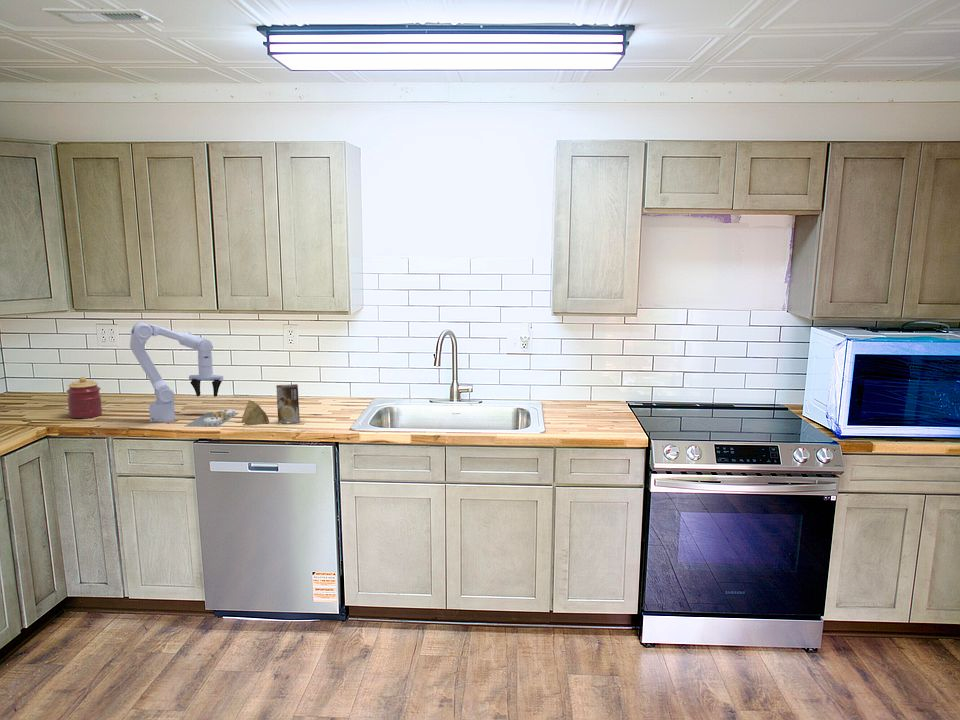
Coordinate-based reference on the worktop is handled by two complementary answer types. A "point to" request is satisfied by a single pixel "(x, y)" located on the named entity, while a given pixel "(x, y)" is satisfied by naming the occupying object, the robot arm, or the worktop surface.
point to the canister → (84, 399)
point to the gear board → (201, 421)
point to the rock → (254, 414)
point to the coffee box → (288, 403)
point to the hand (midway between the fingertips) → (207, 396)
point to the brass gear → (220, 415)
